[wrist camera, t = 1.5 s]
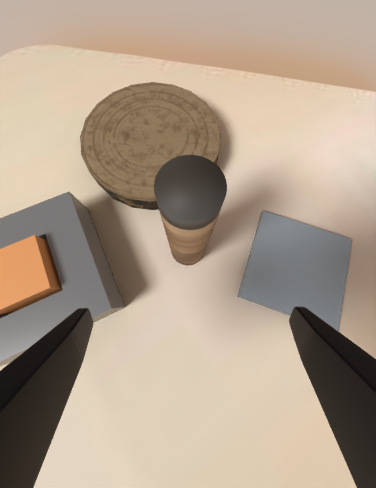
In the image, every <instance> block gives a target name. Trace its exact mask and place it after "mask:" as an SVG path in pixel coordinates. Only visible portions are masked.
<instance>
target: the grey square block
mask: <svg viewBox="0 0 376 488" xmlns="http://www.w3.org/2000/svg"><path fill="white" fill-rule="evenodd" d="M33 235H36V236H38V237H41V238H43V239H45V240H47V241H48V244H49V247H50V250H51V254H52V257H53V260H54V263H55V266H56V270H57V273H58V276H59V279H60V283H61V286H62V289H63V290H62V291H60V292H58V293H55V294H53V295H51V296H49V297H46V298H44V299H42V300H40V301H38V302H35V303H33V304H31V305H29V306H26V307H24V308H22V309H20V310H18V311H15V312H13V313H9V314H0V366H2V365H5V364H7V363H9V362H12V361H13V360H14V359H16V358H17V357H18V356H19V355H21V354H22V353H23V352H24V351H26V350H27V349H28V348H29V347H31V346H32V345H33V344H34V343H36V342H37V341H38V340H39V339H41V338H42V337H43V336H44V335H46V334H47V333H48V332H49V331H51V330H52V329H53V328H54V327H56V326H57V325H58V324H59V323H61V322H62V321H63V320H64V319H65V318H67V317H68V316H69V315H70V314H72V313H73V312H74V311H75V310H77V309H78V308H88V309H89V310H90V313H91V316H92V319H93V322H95V321H97V320H100V319H102V318H104V317H106V316H108V315H110V314H112V313H114V312H116V311H118V310H120V309H123V308H125V306H124V303H123V300H122V298H121V295H120V292H119V290H118V287H117V284H116V282H115V279H114V277H113V274H112V271H111V269H110V266H109V263H108V261H107V258H106V255H105V253H104V250H103V248H102V245H101V242H100V240H99V237H98V234H97V232H96V229H95V226H94V224H93V221H92V219H91V216H90V213H89V211H88V209H87V208H86V207H85V206H84V205H83V204H82V203H81V202H80V201H79V200H78V199H77V198H75V197H74V196H73V195H72V194H71V193H70V192H67V193H64V194H61V195H59V196H56V197H54V198H51V199H49V200H46V201H44V202H41V203H38V204H36V205H33V206H31V207H28V208H26V209H23V210H21V211H18V212H15V213H13V214H10V215H8V216H5V217H3V218H0V249H1V248H4V247H6V246H9V245H11V244H14V243H16V242H19V241H21V240H23V239H26V238H28V237H31V236H33Z"/></svg>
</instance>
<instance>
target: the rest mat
mask: <svg viewBox="0 0 376 488" xmlns="http://www.w3.org/2000/svg"><path fill="white" fill-rule="evenodd" d="M351 244H352V239H350V238H347V237H344V236H341V235H338V234H335V233H332V232H329V231H326V230H322V229H319V228H316V227H313V226H310V225H307V224H304V223H301V222H298V221H295V220H291V219H288V218H285V217H282V216H279V215H276V214H273V213H270V212H267V211H264V210H263V212H262V213H261V216H260V220H259V224H258V227H257V231H256V234H255V238H254V241H253V245H252V248H251V252H250V255H249V259H248V262H247V266H246V270H245V273H244V277H243V280H242V284H241V287H240V291H239V294H238V297H241V298H244V299H246V300H249V301H252V302H255V303H258V304H260V305H263V306H266V307H269V308H271V309H274V310H277V311H280V312H283V313H285V314H288V315H291V313H292V311H293V308H294V307H296V306H303V307H306V308H307V309H309V310H310V311H311V312H313V313H314V314H315V315H317V316H318V317H319V318H321V319H322V320H323V321H325V322H326V323H327V324H329V325H330V326H331V327H333V328H334V329H336V330H337V331H339V324H340V317H341V311H342V304H343V297H344V291H345V284H346V277H347V271H348V264H349V257H350V251H351Z"/></svg>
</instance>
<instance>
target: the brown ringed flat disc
mask: <svg viewBox="0 0 376 488" xmlns="http://www.w3.org/2000/svg"><path fill="white" fill-rule="evenodd" d="M220 137H221V133H220V130H219V126H218V123H217V119H216V116H215V115H214V114H213V112H212V111H211V109H210V108H209V107H208V105H207V104H206V102H204V101H203V100H201V99H200V98H199V97H197V96H196V95H195V94H193V93H192V92H191V91H188V90H186V89H183V88H180V87H178V86H175V85H172V84H164V83H154V82H150V83H143V84H135V85H131V86H128V87H125V88H123V89H120V90H118V91H115V92H113V93H112V94H110V95H109V96H107V97H106V98H105V99H103V100H102V101H101V102H99V103H98V104H97V105H96V106H95V108H94V109H93V110H92V112H91V113H90V114H89V116H88V117H87V118H86V120H85V123H84V127H83V130H82V133H81V136H80V140H81V155H82V157H83V159H84V161H85V164H86V166H87V168H88V170H89V172H90V173H91V175H92V176H93V177H94V179H95V180H96V181H97V183H98V184H99V185H100V186H101V187H102V188H103V189H104V190H105V191H106V192H107V193H108V194H109V195H110V196H111V197H112V198H113V199H115V200H117V201H119V202H122V203H124V204H126V205H128V206H130V207H133V208H141V209H149V210H156V209H159V207H158V204H157V200H156V197H155V193H154V181H155V177H156V175H157V173H158V171H159V170H160V168H161V167H162V166H163V165H164V164H165V163H166V162H168V161H169V160H171V159H173V158H175V157H178V156H182V155H198V156H202V157H205V158H207V159H209V160H211V161H212V162H214V163H215V164H216V163H217V159H218V154H219V146H220Z"/></svg>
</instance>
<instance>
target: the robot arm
mask: <svg viewBox="0 0 376 488" xmlns="http://www.w3.org/2000/svg"><path fill="white" fill-rule="evenodd" d="M289 323H290V327H291V330H292V333H293V336H294V339H295V342H296V345H297V348H298V352H299V355H300V357H301V360H302V362H303V365H304V367H305V370H306V372H307V374H308V376H309V379H310V381H311V383H312V386H313V388H314V390H315V392H316V395H317V397H318V399H319V402H320V404H321V406H322V408H323V411H324V413H325V415H326V418H327V420H328V422H329V424H330V427H331V429H332V431H333V434H334V436H335V438H336V441H337V443H338V445H339V447H340V450H341V452H342V454H343V457H344V459H345V461H346V463H347V466H348V468H349V470H350V473H351V475H352V477H353V479H354V482H355V484H356V486H357V488H376V359H375V358H373V357H372V356H371V355H369V354H368V353H367V352H365V351H364V350H363V349H361V348H360V347H358V346H357V345H356V344H354V343H353V342H352V341H350V340H349V339H348V338H346V337H345V336H344V335H342V334H341V333H340V332H338V331H337V330H336V329H334V328H333V327H331V326H330V325H329V324H327V323H326V322H325V321H323V320H322V319H321V318H319V317H318V316H317V315H315V314H314V313H313V312H311V311H310V310H309V309H307V308H306V307H303V306H296V307H294V308H293V311H292V313H291V316H290V319H289ZM92 327H93V319H92V316H91V313H90V310H89V309H88V308H78V309H77V310H75V311H74V312H73V313H72V314H70V315H69V316H68V317H67V318H65V319H64V320H63V321H62V322H61V323H59V324H58V325H57V326H56V327H54V328H53V329H52V330H51V331H49V332H48V333H47V334H46V335H44V336H43V337H42V338H41V339H39V340H38V341H37V342H36V343H34V344H33V345H32V346H31V347H29V348H28V349H27V350H26V351H24V352H23V353H22V354H21V355H19V356H18V357H17V358H16V359H14V360H13V361H12V362H11V363H10V364H8V365H7V366H6V367H5V368H3V369H2V370H1V371H0V488H33V487H34V484H35V482H36V479H37V477H38V474H39V472H40V469H41V467H42V464H43V461H44V459H45V456H46V454H47V451H48V449H49V446H50V444H51V441H52V439H53V436H54V434H55V431H56V428H57V426H58V423H59V421H60V418H61V416H62V413H63V411H64V408H65V406H66V403H67V401H68V398H69V396H70V393H71V390H72V388H73V385H74V383H75V380H76V378H77V375H78V373H79V370H80V368H81V365H82V362H83V359H84V356H85V352H86V349H87V345H88V342H89V338H90V335H91V331H92Z"/></svg>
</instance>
